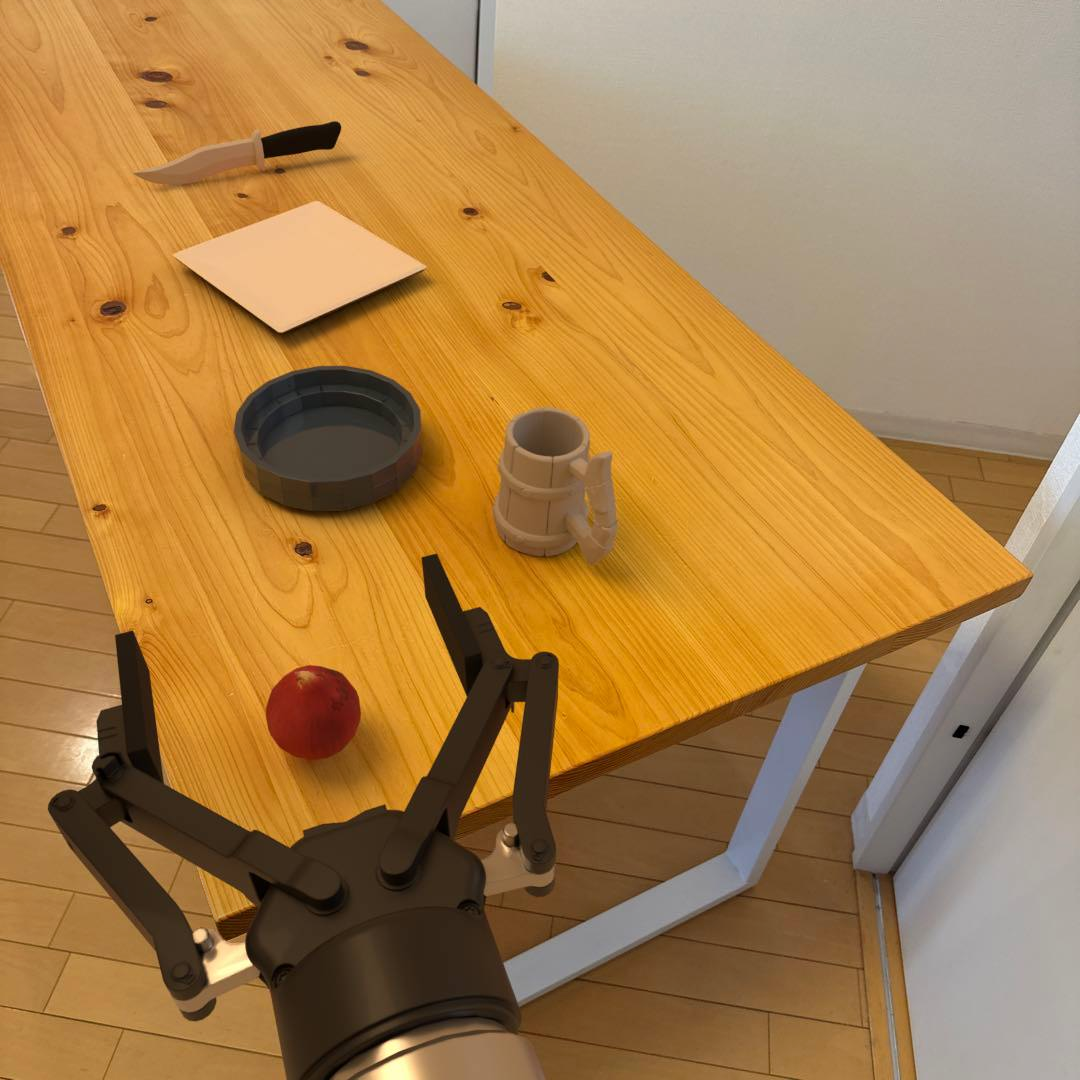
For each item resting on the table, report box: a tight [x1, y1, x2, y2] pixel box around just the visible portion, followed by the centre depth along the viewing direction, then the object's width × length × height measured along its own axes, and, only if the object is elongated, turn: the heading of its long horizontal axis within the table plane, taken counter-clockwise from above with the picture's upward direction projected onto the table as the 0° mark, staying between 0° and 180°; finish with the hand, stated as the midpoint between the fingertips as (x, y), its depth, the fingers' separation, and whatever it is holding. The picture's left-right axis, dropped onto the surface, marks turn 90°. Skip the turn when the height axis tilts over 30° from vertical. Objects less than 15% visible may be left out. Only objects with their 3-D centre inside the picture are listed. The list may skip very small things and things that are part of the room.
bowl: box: [233, 365, 423, 512], centre depth 85 cm, size 15×15×4 cm
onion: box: [265, 664, 362, 761], centre depth 63 cm, size 6×6×8 cm
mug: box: [492, 406, 619, 566], centre depth 77 cm, size 8×12×12 cm, turn 40°
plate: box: [172, 200, 427, 335], centre depth 105 cm, size 19×19×2 cm
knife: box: [132, 120, 342, 186], centre depth 119 cm, size 25×2×5 cm, turn 118°
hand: (287, 612), depth 46 cm, fingers open, 13 cm apart
